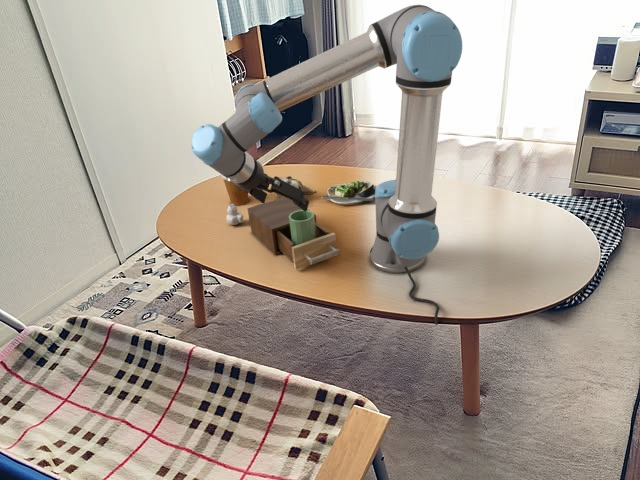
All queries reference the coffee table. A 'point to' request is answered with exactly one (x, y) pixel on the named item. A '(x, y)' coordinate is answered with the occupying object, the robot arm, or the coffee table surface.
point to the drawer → (307, 247)
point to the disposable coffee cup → (235, 193)
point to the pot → (302, 226)
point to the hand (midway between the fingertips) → (285, 202)
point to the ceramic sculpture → (297, 186)
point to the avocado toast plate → (351, 193)
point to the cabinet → (271, 220)
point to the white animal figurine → (233, 215)
